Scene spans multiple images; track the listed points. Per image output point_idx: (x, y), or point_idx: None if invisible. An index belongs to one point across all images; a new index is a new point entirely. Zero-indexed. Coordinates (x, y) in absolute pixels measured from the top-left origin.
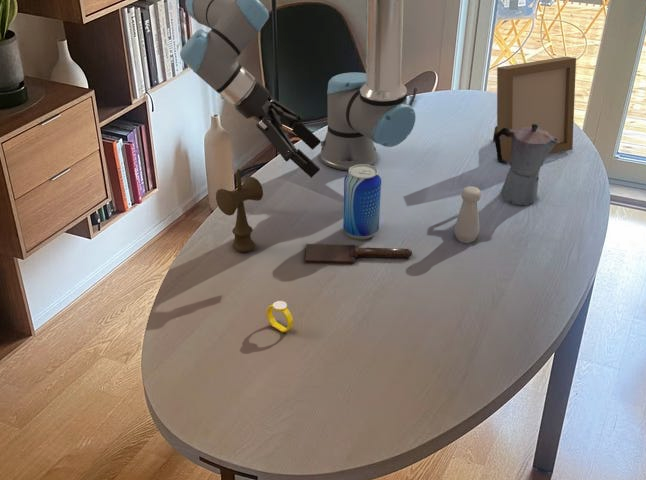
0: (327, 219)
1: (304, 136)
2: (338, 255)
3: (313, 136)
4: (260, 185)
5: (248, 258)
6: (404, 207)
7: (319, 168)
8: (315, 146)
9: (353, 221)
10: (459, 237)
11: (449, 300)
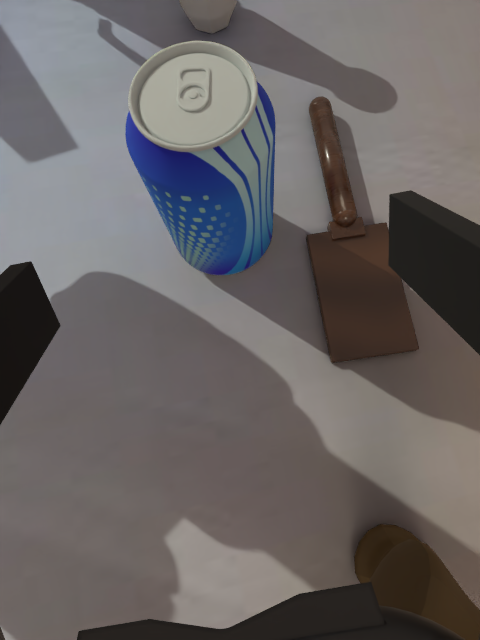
0: (172, 334)
1: (9, 356)
2: (369, 265)
3: (8, 291)
4: (437, 568)
5: (443, 528)
6: (84, 153)
7: (401, 193)
8: (48, 301)
9: (271, 219)
10: (230, 14)
11: (468, 21)
